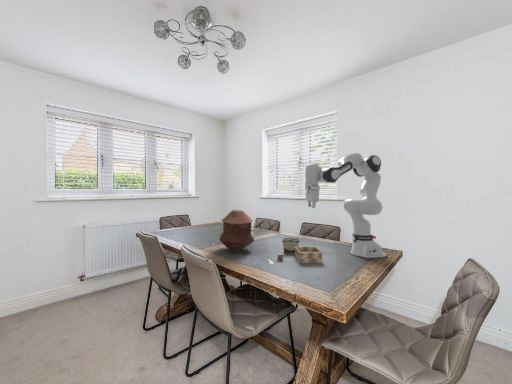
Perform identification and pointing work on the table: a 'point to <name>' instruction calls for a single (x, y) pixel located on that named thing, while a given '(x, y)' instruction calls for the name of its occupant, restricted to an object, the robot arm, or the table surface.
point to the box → (308, 255)
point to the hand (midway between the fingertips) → (311, 207)
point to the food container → (290, 244)
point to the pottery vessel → (236, 231)
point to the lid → (280, 257)
